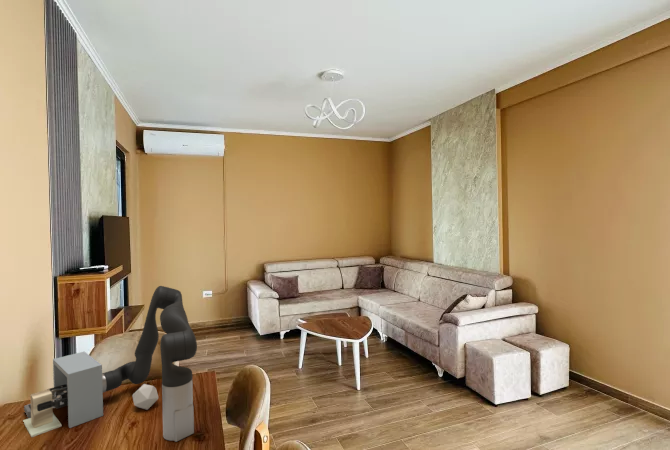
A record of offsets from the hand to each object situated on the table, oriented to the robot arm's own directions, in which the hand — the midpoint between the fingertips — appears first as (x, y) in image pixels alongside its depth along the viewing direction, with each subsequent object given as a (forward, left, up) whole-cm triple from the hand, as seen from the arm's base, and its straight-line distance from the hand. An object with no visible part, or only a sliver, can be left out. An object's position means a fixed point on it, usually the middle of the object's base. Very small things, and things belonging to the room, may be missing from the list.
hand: (34, 404), depth 123 cm
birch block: (0, -2, -7) cm, 7 cm away
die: (-16, -30, -8) cm, 35 cm away
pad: (0, -2, -8) cm, 8 cm away
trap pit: (+12, -3, -8) cm, 14 cm away
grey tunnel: (0, -12, -8) cm, 15 cm away
